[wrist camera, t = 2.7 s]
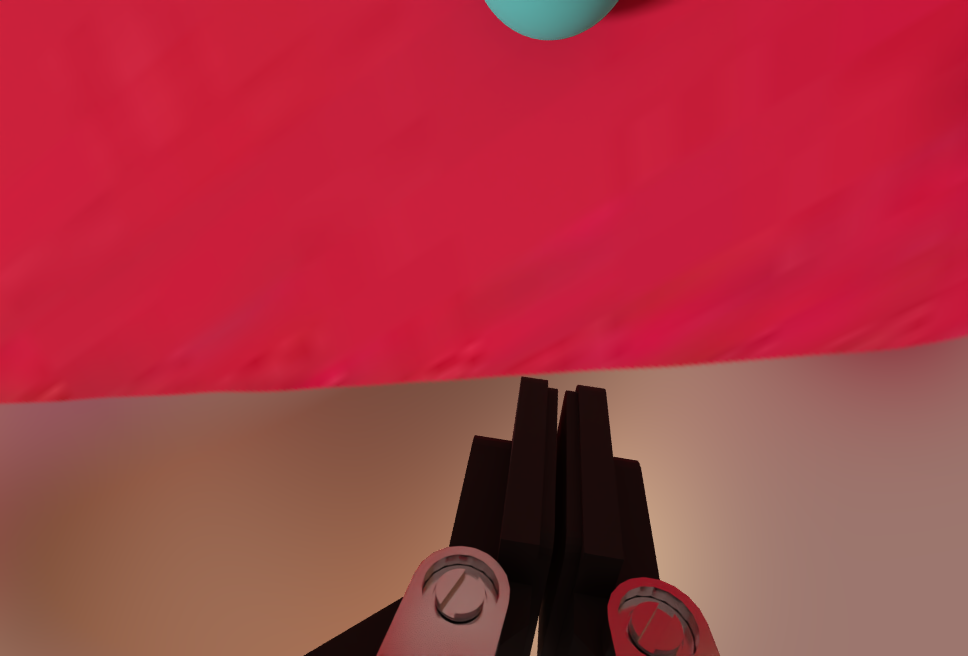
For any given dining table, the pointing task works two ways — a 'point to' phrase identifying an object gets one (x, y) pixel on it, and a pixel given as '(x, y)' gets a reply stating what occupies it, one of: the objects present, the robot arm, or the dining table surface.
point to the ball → (550, 16)
